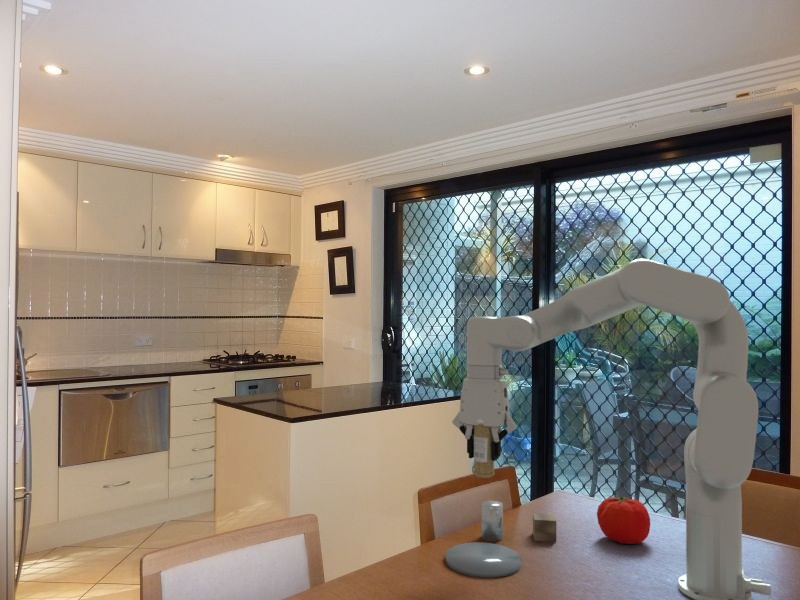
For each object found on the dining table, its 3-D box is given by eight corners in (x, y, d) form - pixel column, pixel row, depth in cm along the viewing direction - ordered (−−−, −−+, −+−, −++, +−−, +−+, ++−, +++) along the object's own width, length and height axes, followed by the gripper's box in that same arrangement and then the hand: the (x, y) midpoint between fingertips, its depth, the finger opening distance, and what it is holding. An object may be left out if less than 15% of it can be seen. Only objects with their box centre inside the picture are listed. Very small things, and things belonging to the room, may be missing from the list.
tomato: (653, 538, 146) (653, 494, 146) (646, 553, 136) (646, 507, 136) (602, 529, 152) (602, 487, 152) (592, 543, 142) (591, 499, 142)
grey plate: (529, 555, 134) (529, 550, 134) (507, 583, 120) (507, 577, 120) (461, 543, 141) (461, 537, 141) (433, 567, 127) (433, 561, 127)
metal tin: (505, 536, 146) (505, 502, 147) (498, 542, 142) (499, 508, 142) (485, 532, 149) (485, 499, 149) (478, 539, 144) (478, 504, 144)
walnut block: (553, 534, 148) (553, 514, 148) (556, 542, 143) (556, 520, 143) (532, 533, 148) (532, 513, 149) (534, 541, 143) (534, 519, 144)
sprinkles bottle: (498, 476, 131) (499, 413, 131) (482, 479, 128) (482, 414, 128) (484, 471, 134) (484, 410, 135) (468, 474, 132) (468, 412, 132)
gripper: (527, 374, 131) (526, 459, 131) (454, 370, 139) (453, 451, 138) (517, 376, 125) (516, 466, 124) (441, 372, 132) (440, 457, 132)
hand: (483, 457), depth 131 cm, fingers closed on sprinkles bottle, 4 cm apart
